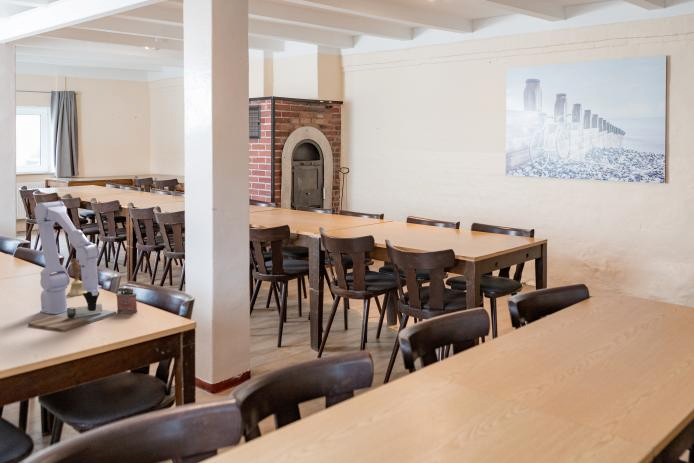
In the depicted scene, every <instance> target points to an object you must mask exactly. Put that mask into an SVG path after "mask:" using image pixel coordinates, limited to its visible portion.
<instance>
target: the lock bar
mask: <svg viewBox="0 0 694 463" xmlns="http://www.w3.org/2000/svg"><path fill="white" fill-rule="evenodd" d="M102 310H103V306H102V303H96V310H95V311H89V309H88V305H83V306H77V307H73V306H71V307H67V311H66V312H67V317H68V318H73V317H75V316H80V315H86V314H92V313H98V312H102Z"/></svg>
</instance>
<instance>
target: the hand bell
mask: <svg viewBox="0 0 694 463" xmlns="http://www.w3.org/2000/svg"><path fill="white" fill-rule="evenodd" d="M79 265H80V264H79V261H78V258H73V259H72V264H71V266H72V271H73V274H74V280H73V281H72V282H71V283H70V285H71V286H70V290H69V292H68V293H67V296H69V297H78V296H79V297H80V296H84V295H83V293H87V291H83V290H82V280H80V278H79V267H80V266H79Z"/></svg>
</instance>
